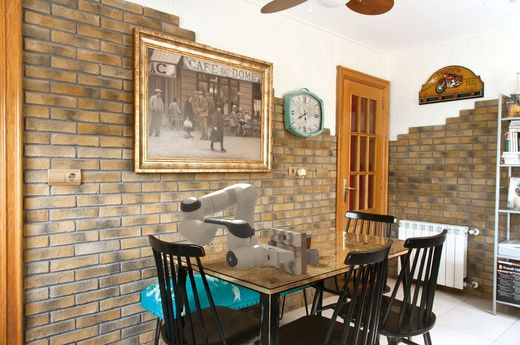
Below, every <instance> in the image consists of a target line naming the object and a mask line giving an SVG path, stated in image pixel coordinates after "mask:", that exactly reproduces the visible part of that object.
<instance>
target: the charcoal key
mask: <svg viewBox="0 0 520 345" xmlns="http://www.w3.org/2000/svg"><path fill="white" fill-rule="evenodd" d="M267 244H268V245H271V246H274V247H277V246H276V241H270V240H269V241H267Z"/></svg>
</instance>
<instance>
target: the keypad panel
mask: <svg viewBox="0 0 520 345" xmlns="http://www.w3.org/2000/svg"><path fill="white" fill-rule="evenodd" d="M305 232H306V231H300V230H295V229H289V228H283V227H269V241H276V244H278V243H283V244H285V249H288V246H291V245H292V246H295V256H294V260H293V261H291V262H287V263H281V264H278V265H277V266H272V267H274V268H277V269H279V270H282V271H285V272H288V273H289V274H292V275H295V276H299V275H306V274H308V272H307V271H308V267H307V266H308V264H307V241H306V233H305Z"/></svg>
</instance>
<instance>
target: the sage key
mask: <svg viewBox="0 0 520 345" xmlns="http://www.w3.org/2000/svg"><path fill="white" fill-rule="evenodd" d="M276 246H277V247H278V248H281V249H285V244H283V243H278V244H276Z"/></svg>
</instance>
